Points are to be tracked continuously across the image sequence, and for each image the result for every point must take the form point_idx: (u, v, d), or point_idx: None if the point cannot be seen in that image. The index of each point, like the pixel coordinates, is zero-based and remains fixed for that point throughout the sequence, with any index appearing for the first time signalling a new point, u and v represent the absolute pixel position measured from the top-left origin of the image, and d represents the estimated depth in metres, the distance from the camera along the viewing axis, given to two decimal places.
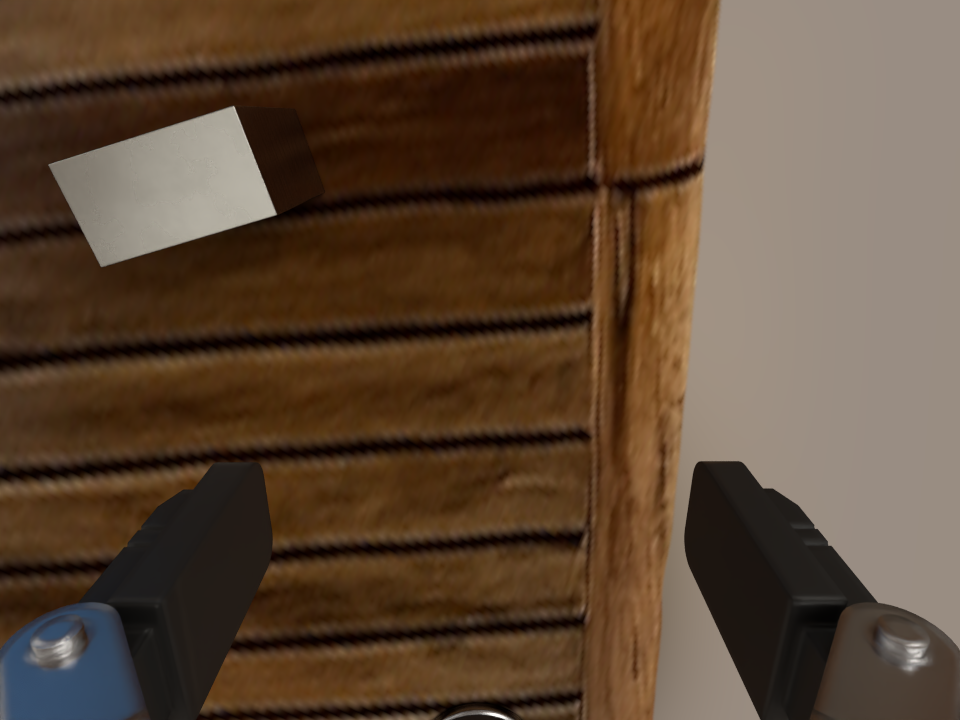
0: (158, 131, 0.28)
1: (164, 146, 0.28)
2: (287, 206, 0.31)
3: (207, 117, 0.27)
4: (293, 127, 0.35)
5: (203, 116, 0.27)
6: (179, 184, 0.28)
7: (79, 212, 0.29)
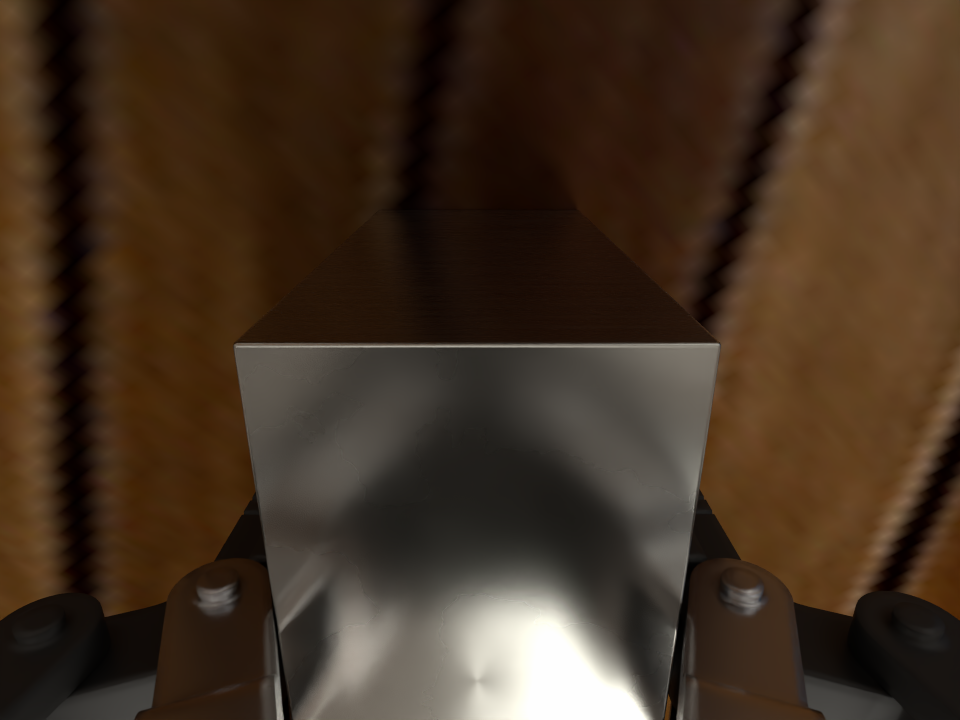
0: None
1: None
2: None
3: None
4: None
5: None
6: None
7: (492, 372, 0.06)
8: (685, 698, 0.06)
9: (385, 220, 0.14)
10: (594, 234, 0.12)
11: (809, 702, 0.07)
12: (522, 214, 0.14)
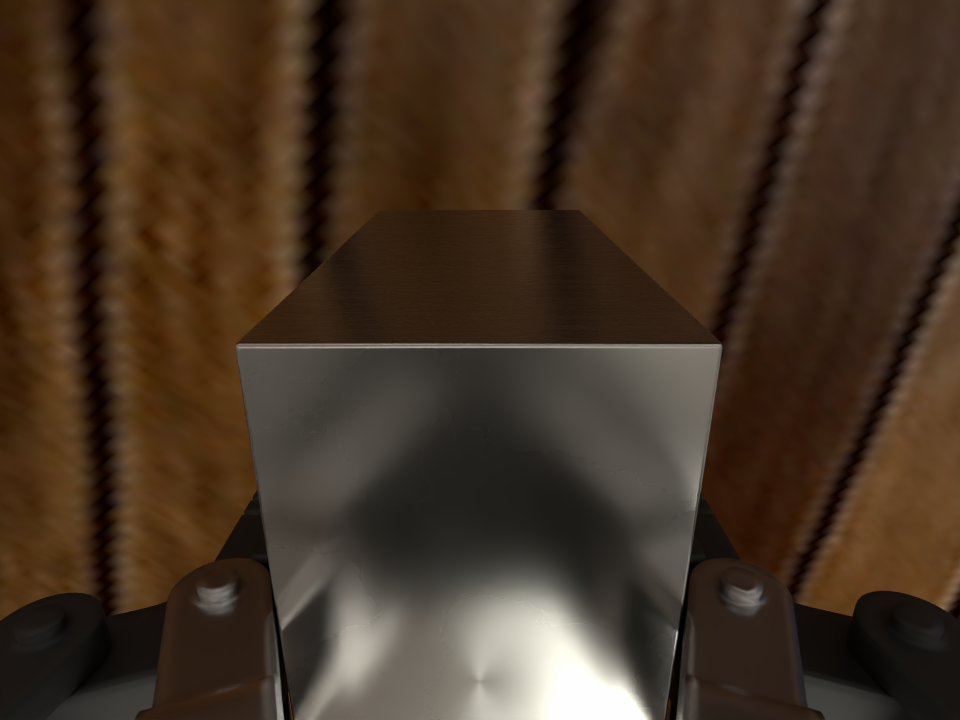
0: None
1: None
2: None
3: None
4: None
5: None
6: None
7: (494, 372, 0.06)
8: (685, 698, 0.06)
9: (386, 220, 0.14)
10: (595, 234, 0.12)
11: (809, 702, 0.07)
12: (523, 214, 0.14)
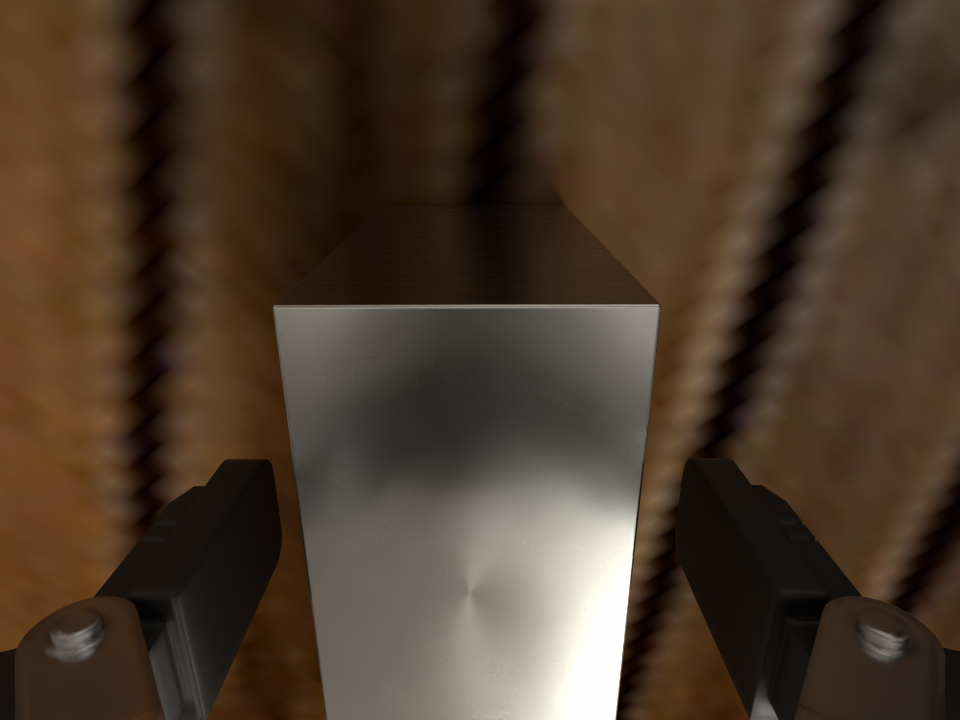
0: (620, 637, 0.10)
1: (580, 636, 0.10)
2: None
3: None
4: None
5: None
6: (473, 633, 0.10)
7: (479, 328, 0.08)
8: None
9: (390, 213, 0.15)
10: (575, 224, 0.13)
11: None
12: (513, 208, 0.16)
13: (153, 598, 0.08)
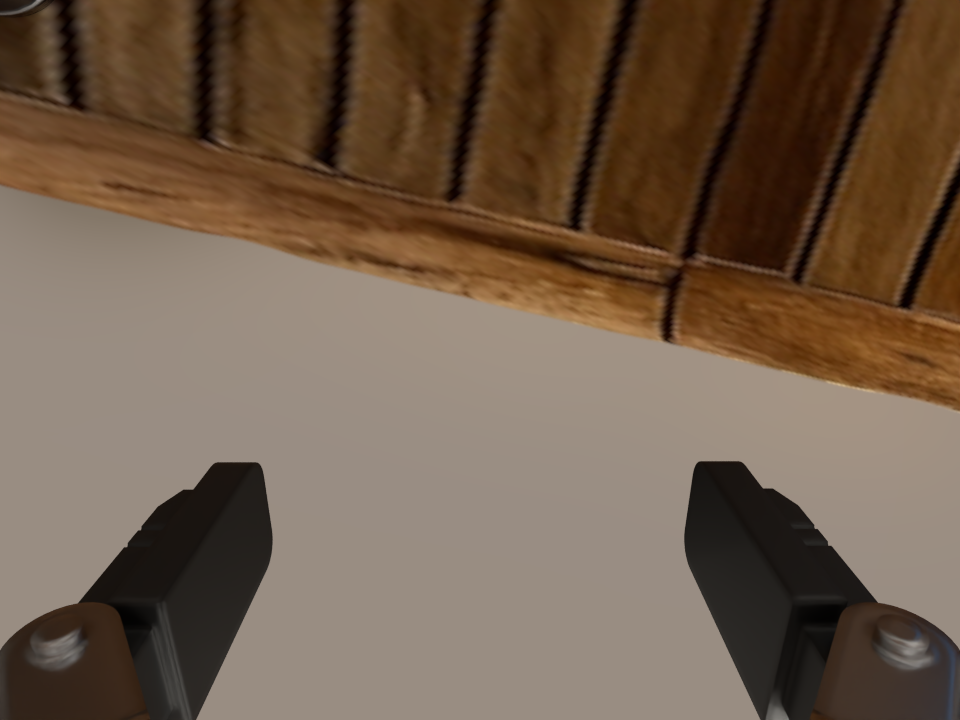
0: None
1: None
2: None
3: None
4: None
5: None
6: None
7: None
8: None
9: None
10: None
11: None
12: None
13: (137, 604, 0.08)
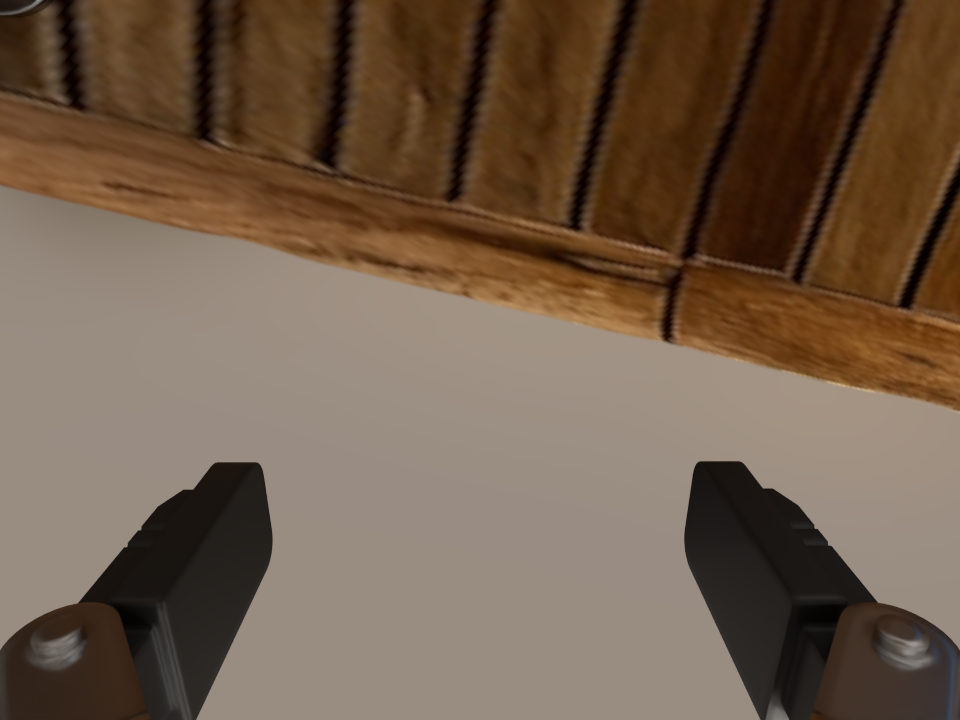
0: None
1: None
2: None
3: None
4: None
5: None
6: None
7: None
8: None
9: None
10: None
11: None
12: None
13: (137, 604, 0.08)
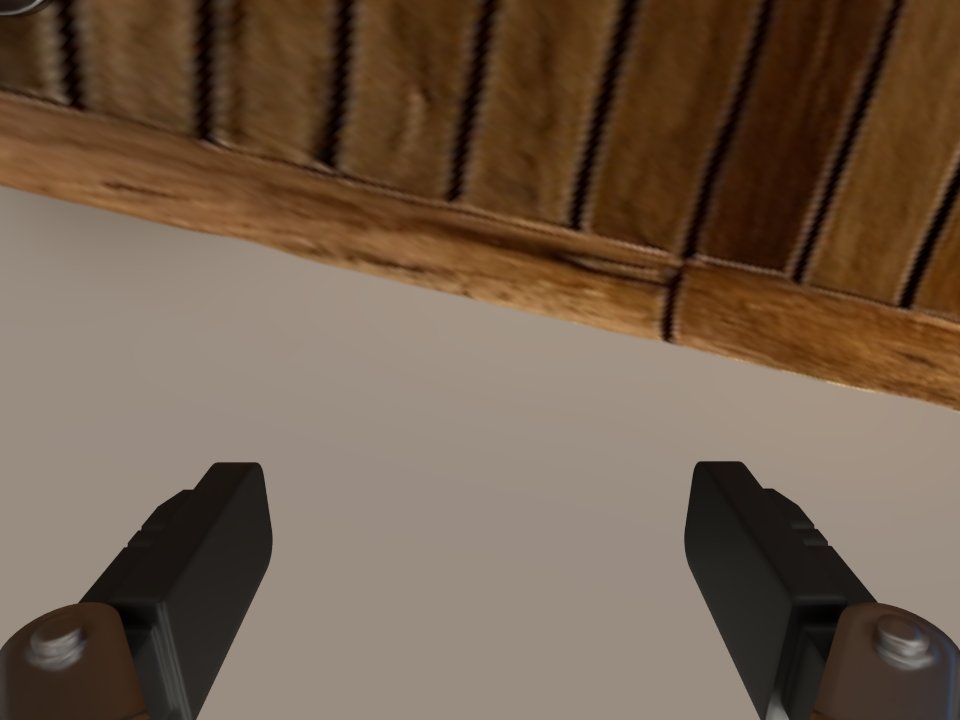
0: None
1: None
2: None
3: None
4: None
5: None
6: None
7: None
8: None
9: None
10: None
11: None
12: None
13: (137, 604, 0.08)
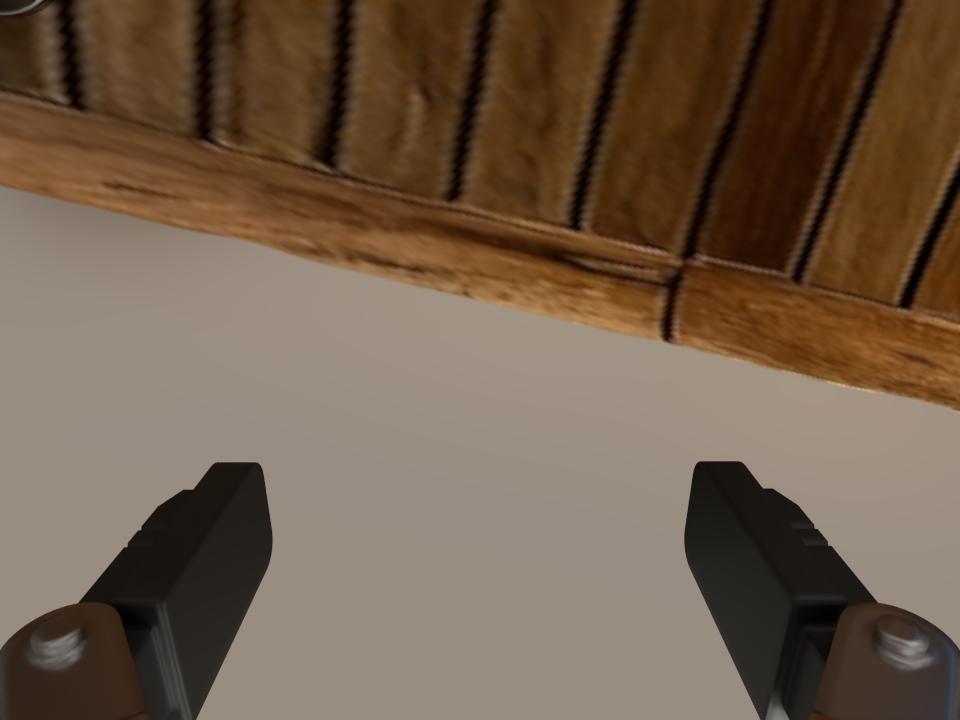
0: None
1: None
2: None
3: None
4: None
5: None
6: None
7: None
8: None
9: None
10: None
11: None
12: None
13: (137, 604, 0.08)
